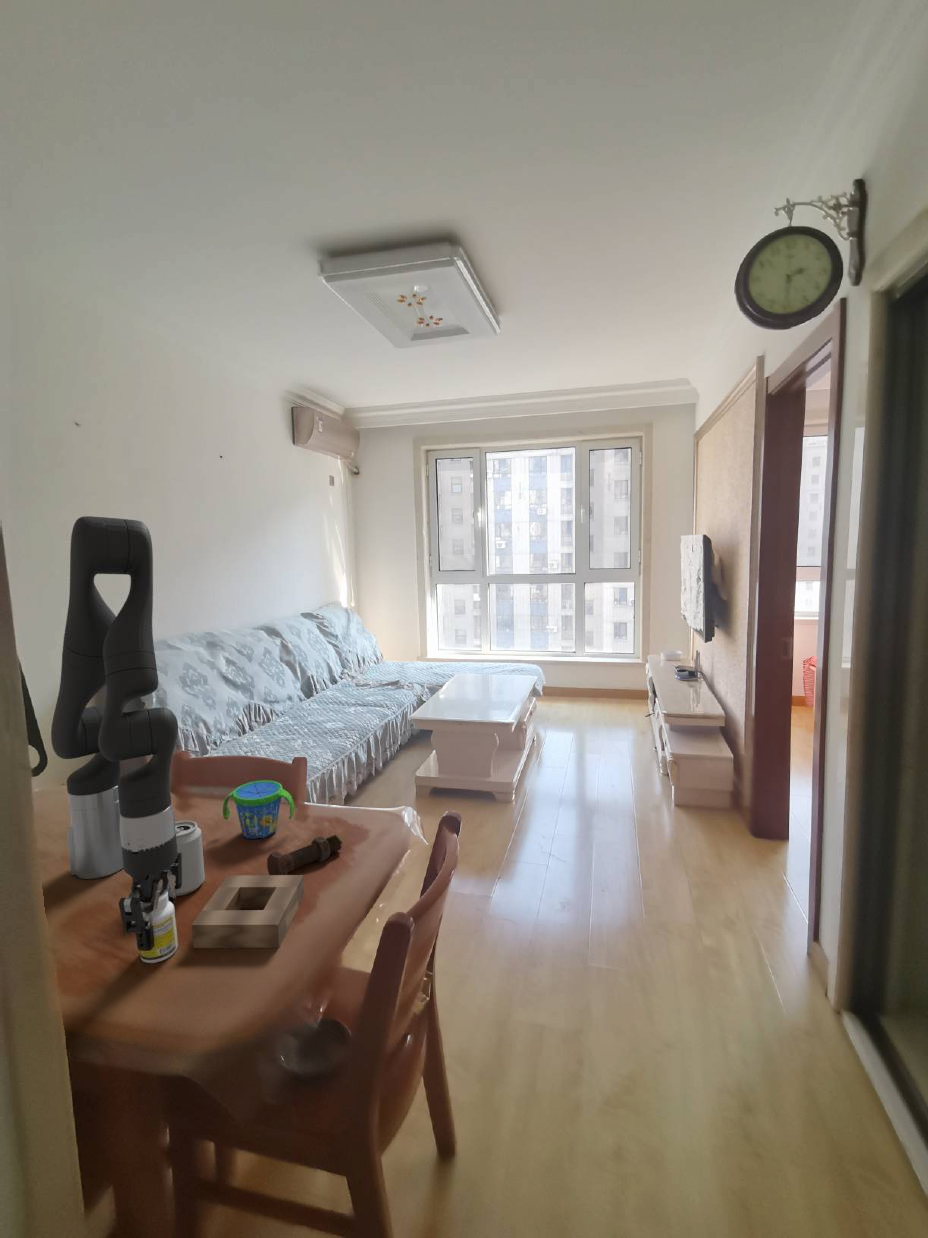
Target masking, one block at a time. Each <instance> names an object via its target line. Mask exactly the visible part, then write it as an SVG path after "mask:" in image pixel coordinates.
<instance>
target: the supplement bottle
mask: <svg viewBox="0 0 928 1238" xmlns="http://www.w3.org/2000/svg"><path fill="white" fill-rule="evenodd" d="M140 902H141V901H140ZM150 905H151V902H142V905H141V906H150ZM175 912H176V908H175V909H174V905H173V904H172V903H171V902H170V901H168V892H167V890H165V891H164V892H163V893H162V894H161V895H160V896H159V901H158V908H157V910H156V911H154V913H153V920H152V926H153V936H154V947H153V948H152V949H151V950H150V951H140V950H139V956H140V959H141V961H142V962H144V963H148V964H155V963H158V962H162V961H164V960H167V959H168V958H170V957H171V956H172V955H173V954H175V952H177V950H178V946H179V941H178V930H177V920H176V919H177V918H176V919H175ZM142 913H143V918H144V920H146V913H145V912H142Z"/></svg>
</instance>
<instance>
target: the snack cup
mask: <svg viewBox="0 0 928 1238" xmlns="http://www.w3.org/2000/svg"><path fill="white" fill-rule="evenodd" d="M282 797H283V798H284V799H285V800H286V803H288V804H289V806H290V807H289V817H288V819H289V820H292V818H293V816H294V812H295V803H294V799H293V797H292V795H291V794H290V793H289V792H288V791H287V790H285V789H284V788H283V785H282V784H281V783H280V782H277V781H275V780H256V781H255V780H254V781H250V782H246V783H245V784H242V785H239V786H238V787H236V788H235V789H234V790H233V791H231V792H230V793H229V794H228V795H227V796H226V797H225V799H224V801H223V805H222V816H223V817H222V818H223V819H224V820H227V819H229V818H230V815H231V813H230V812H231V811H230V809H229V805H228V804H229V800H230V798H232V799H233V802H234V804H235V807H236V811H237V816H238V817H237V818H238V821H239V825H240V829H241V833H242V835H243V836H244V837H245V838H246V839H258V838H262V839H265V838H266V837H268V836H271V835H272V834H274V833H275V832H276V831H277V829H278V824H279V818H280V817H279V815H280V807H281V801H282Z"/></svg>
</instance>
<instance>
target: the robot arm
mask: <svg viewBox="0 0 928 1238" xmlns="http://www.w3.org/2000/svg"><path fill="white" fill-rule="evenodd" d="M151 536H152V535H151V533H150V529H149V528H148V526H147V525H146V523H144V522H143V521H141V520H135V519H127V518H126V519H125V518H117V517H108V516H107V517H106V516H105V517H104V516H91V515H89V516H88V515H86V516H85V515H84V516H80V517H79V518H77V519H76V520H75V522H74V524H73V527H72V531H71V536H70V548H69V549H70V551H69V552H70V555H69V556H70V559H69V599H68V606H67V615H66V621H65V622H66V623H65V628H64V633H63V642H62V643H63V644H62V653H61V671H60V682H59V689H58V690H59V691H58V694H57V695H58V696H57V699H56V704H55V708H54V713H53V717H52V721H51V731H50V736H51V739H50V740H51V746H52V750H53V752H54V753H55V755H56V756H57V757H59V758H60V759H62V760H73V759H77V758H78V759H79V758H83V757H86V756H90V755H94V756H93V757H92V758H91V759H90V760H89V761H88V762H87V763H85V764H84V765H83V766H81V767H79V768H78V769H76V770H75V771H73V772H72V773H70V775H69V776H67V778H66V790H67V799H68V808H69V816H70V826H69V827H68V828H67V829H66V838H67V846H68V847H67V849H68V856H69V865H70V866H69V867H70V874H71V875H72V876H73V875H75V876H77V877H78V878H80V879H85V880H94V879H100V878H103V877H107V876H110V875H112V874H113V875H114V874H115V873H117V872H119V871H120V870H123V871H124V873H126V874H127V875H129V877H131V879H132V882H131V888H130V889H131V892H130V893H129V894H128V896H127V897H121V898H119V900H118V907H119V913H120V917H121V922H122V926H123V932H124V934H135V935H136V937H135V938H136V947H137V950H138V951H139V952H140V951H150V950H151V949H152V948H153V947H154V936H153V926H152V920H153V913H154V911H156V910H157V908H158V901H159V896H160V895H161V894H162V893H163V892H164V891H165V890H167V892H168V901H170V902H171V903H172V904H173V905H174V909H175V910H176V905H175V904H176V903H175V902H176V901H175V899H176V898H177V897H178V896H177V892H176V890H177V889H180V888H181V886H182V854H181V853H177V841H176V829H175V822H176V819H175V813H174V812H175V811H174V809H173V804H172V794H171V782H170V779H171V765H172V760H173V755H174V751H175V747H176V744H177V739H178V733H179V723H178V722H179V721H178V719H177V717H176V715H175V714H174V712H173V711H172V710H170V709H169V708H167V707H165V706H159V707H151V708H144V709H139V710H133V711H132V710H131V711H127V712H124V708H125V707H126V706H127V705H128V704H129V703H130V702H132V701H134V700H137V699H139V698H142V697H146V696H148V695H150V694H152V693H155V692H156V690H157V689H158V688H159V676H158V674H159V673H158V668H157V660H156V654H155V653H156V652H155V646H154V645H155V644H154V636H153V635H154V633H153V611H154V610H153V609H154V608H153V606H154V605H153V604H154V601H153V600H154V598H153V597H154V560H153V559H154V557H153V556H154V553H153V552H154V551H153V542H152V537H151ZM96 575H129V576H130V586H129V587H130V588H129V592H128V595H127V598H126V600H125V601H124V603H123V605H122V607H121V609H120V610H119V612H118V614H117V615H116V614H115V613H114V611H113V610H112V609H111V608H110V607H109V606H108V604H107V603H106V602H105V600H104V598H103V597H102V595H101V594H100V592H99V590H98V588H97V586H96V584H95V577H96ZM105 686H106V692H105V693H106V694H105V697H106V698H105V704H97V705H93V706H88V704H89V702H91V700H92V699H93V698H94V697H95V696H96V695H97V694H98V693H99V692H100V691H101V690H102V689H103V688H104V687H105ZM87 706H88V707H87ZM151 755H152V756H151ZM147 756H151V758H150V760H149V761H148V762H146V763H145V764H143V765H141V766H139V767H136V768H134V769H132V770H129V771H128V772H125V773H124V774H122V769H123V768H122V766H123V765H122V761H125V760H126V761H127V760H131V759H135V758H136V759H138V758H141V757H147ZM172 875H175V877H176V881H174V879H173V877H172ZM140 901H141V902H140ZM142 902H151V905H150V906H141V905H142ZM142 912H145V913H146V920H144V918H143V913H142ZM176 912H177V911H175V919H177V913H176Z"/></svg>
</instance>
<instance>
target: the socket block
mask: <svg viewBox="0 0 928 1238" xmlns="http://www.w3.org/2000/svg"><path fill="white" fill-rule="evenodd" d="M304 881H305V880H304V875H302V874H287V875H270V874H268V875H267V874H266V875H265V874H264V875H263V874H262V875H261V874H259V875H255V874H253V875H252V874H251V875H250V874H249V875H248V874H247V875H246V874H245V875H241V874H240V875H238V874H237V875H233V874H232V875H231V874H230V875H227V876H226V877H225V879H224V880H223V881H222V883H221V884H220V885H219V887H218V888H217V889H216V891H215V893H214V894H213V895H212V896H211V898H210V899H209V901H208V902H207V903H206V905H205V906H204V907H203V908H202V910H201V911H200V913H199V914H198V915H197V917H196V918H195V919H194V921H193V922H192V923H191V924H190V925H191V935H192V936H191V937H192V948H193V949H208V948H209V949H213V948H214V949H216V948H217V949H222V948H223V949H225V948H226V949H228V948H229V949H231V948H232V949H234V948H237V949H238V948H240V949H243V948H248V949H250V948H251V949H253V948H254V949H255V948H256V949H257V948H259V949H260V948H269V949H270V948H274V949H275V948H277V949H278V948H280V947H281V945H282V943H283V942H284V939H285V937H286V935H287V932H288V931H289V928H290V926H291V924H292V922H293V920H294V918H295V916H296V913H297V912H298V910H299V908H300V904H302V901H303V899H304V897H305V882H304ZM242 909H245V910H242ZM247 909H248V910H247ZM249 909H250V910H249ZM251 909H252V910H251ZM254 909H255V910H254ZM256 909H257V910H256ZM261 909H262V910H261Z"/></svg>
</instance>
